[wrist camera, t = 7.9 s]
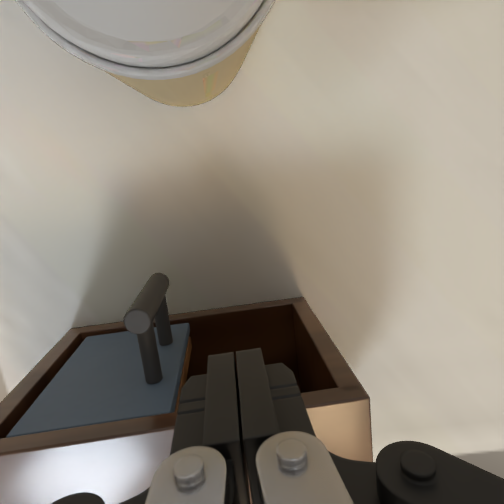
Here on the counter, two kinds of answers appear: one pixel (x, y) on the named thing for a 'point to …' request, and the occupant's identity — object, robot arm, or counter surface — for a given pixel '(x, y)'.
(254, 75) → the counter surface
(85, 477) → the cupboard
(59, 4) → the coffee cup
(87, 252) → the counter surface
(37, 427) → the sliding lid with handle
